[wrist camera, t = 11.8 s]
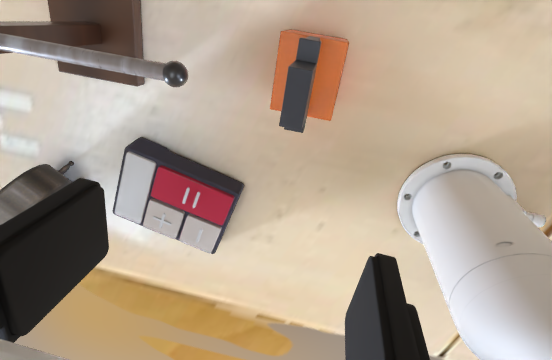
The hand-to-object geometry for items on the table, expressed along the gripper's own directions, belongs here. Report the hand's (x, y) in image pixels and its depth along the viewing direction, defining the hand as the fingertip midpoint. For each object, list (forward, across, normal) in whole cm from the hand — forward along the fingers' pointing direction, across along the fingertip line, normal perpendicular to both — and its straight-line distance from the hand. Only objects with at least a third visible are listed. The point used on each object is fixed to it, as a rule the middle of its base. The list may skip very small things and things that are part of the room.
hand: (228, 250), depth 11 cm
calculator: (+28, +14, +17) cm, 36 cm away
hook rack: (+28, +19, -2) cm, 34 cm away
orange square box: (+28, 0, -3) cm, 28 cm away
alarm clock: (+28, +32, +20) cm, 47 cm away
